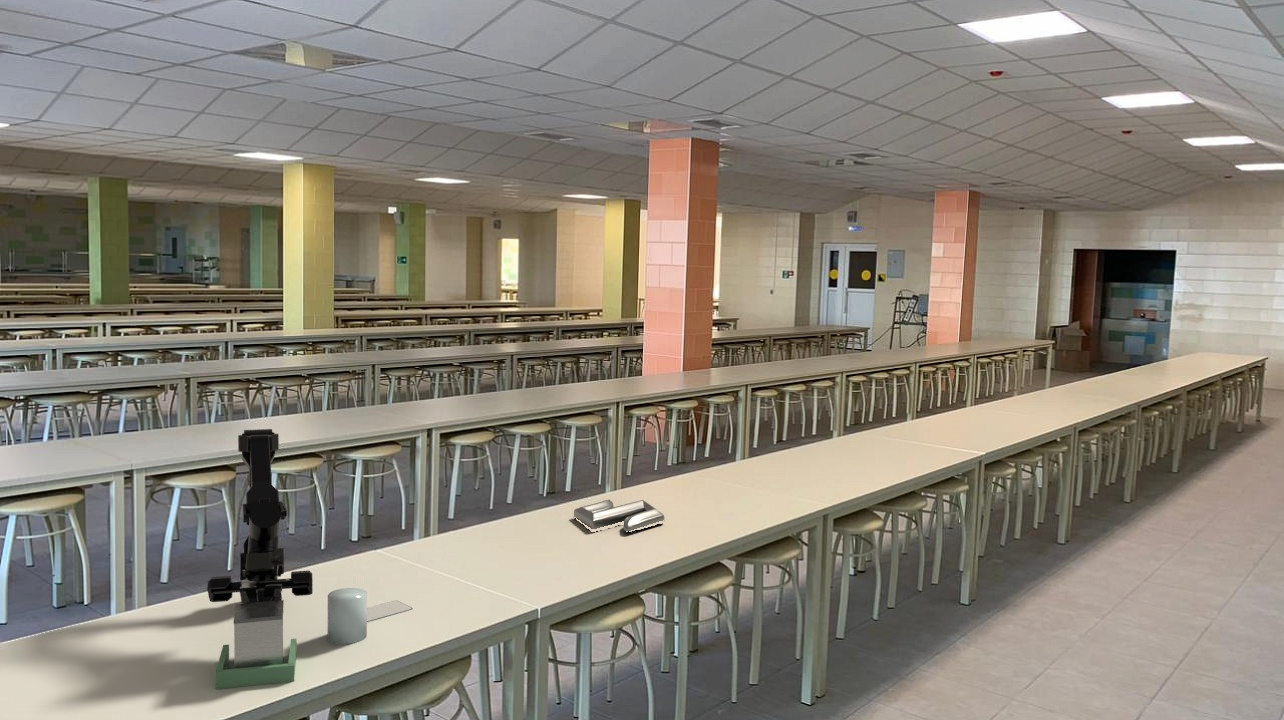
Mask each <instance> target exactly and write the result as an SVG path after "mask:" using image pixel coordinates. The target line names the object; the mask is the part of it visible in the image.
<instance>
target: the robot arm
mask: <svg viewBox="0 0 1284 720" xmlns="http://www.w3.org/2000/svg"><path fill="white" fill-rule="evenodd" d="M279 444H280V443H279V433H275V432H274V431H273V429H272V428H265V429H264V428H263V429H244V430H243V433H241V434H238V435H237V445H238V446H237V448H238V449H237V450H238V452H240V453H241V460H242V461H243V463H244V464H245V466H246V467H247V469H248V471H249V473H248V477H249V479H248V481H249V489H248V490H247V491H246V493H245V494H246V495H245V498H246V499H245V503H242V522H243V523H246V526H248V536H247V538H246V539H245V541H244V543H243V546H242V549H243V552H240V553H239V580H240V581H234V582H233V581H232V575H224V576H223V575H222V576H211V577H210V579H208V580H207V589H206V590H207V591H206V592H207V595H208V598H209V602H211V603H220V602H229V600H231V599H232V598H233V593H239V595H240V602H241V604H243V603H255V602H267V601H278V600H283V597H282V596H283V595H282V592H283V590H286V589H287V590H288V589H289V590H290V589H291V594H292V595H294V596H295V597H301V596H302V597H303V596H311V595H313V585H314V584H313V581H314V580H313V573H312V571H310V570H300V571H299V570H298V571H297V570H295V571H291V572H290V578H278V577H282V575H284V573H285V571H284V570H285V563H286V562H285V558H286V556H285V555H286V553H285V552H286V551H285V547H281V548H280V532H281V522H282V520H285V517H287V516H288V511H287V510H288V509H287V507H286V506H285V504H284V503H283V501H282V500H280V496H279V495H280V493H279V490H278V489H277V488H276V487H275V486H274V485H273V481H272V480H273V479H272V465H271V464H272V462H273V461H274V459H275V455H276V451H279Z"/></svg>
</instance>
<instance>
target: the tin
mask: <svg viewBox="0 0 1284 720" xmlns="http://www.w3.org/2000/svg"><path fill="white" fill-rule="evenodd" d="M233 629H234V630H233V631H234V632H233V633H234V636H233V638H234V639H233V642H234V646H233V647H234V651H233V652H234V659H233V660H234V661H233V662H234V669H238V668H248V667H258V666H269V665H279V664H284V599H282V600H278V601H267V602H255V603H236V604H235V612H234V615H233Z"/></svg>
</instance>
